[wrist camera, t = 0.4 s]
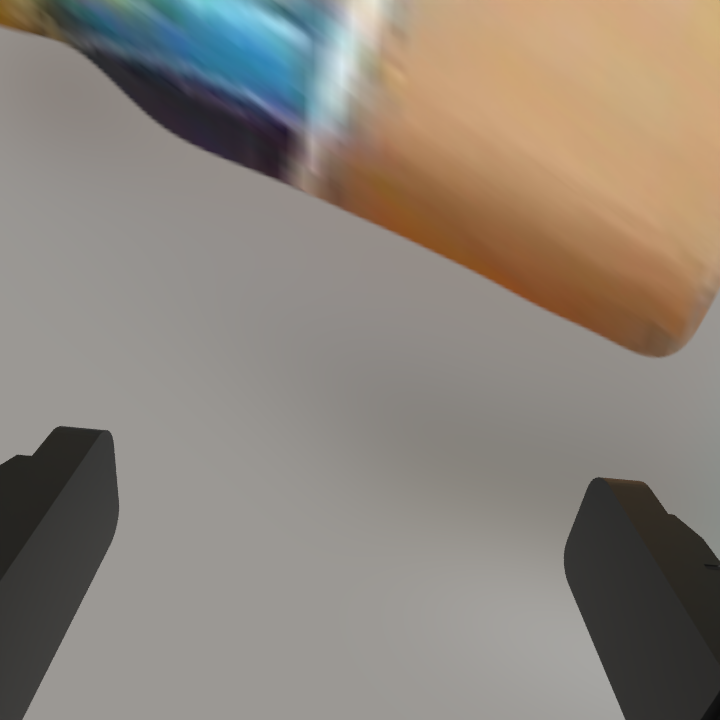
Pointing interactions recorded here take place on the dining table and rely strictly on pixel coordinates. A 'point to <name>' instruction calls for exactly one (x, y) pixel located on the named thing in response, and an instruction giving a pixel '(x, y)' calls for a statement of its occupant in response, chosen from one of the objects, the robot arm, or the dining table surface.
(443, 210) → the dining table surface
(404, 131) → the dining table surface
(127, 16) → the dining table surface
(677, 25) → the dining table surface
